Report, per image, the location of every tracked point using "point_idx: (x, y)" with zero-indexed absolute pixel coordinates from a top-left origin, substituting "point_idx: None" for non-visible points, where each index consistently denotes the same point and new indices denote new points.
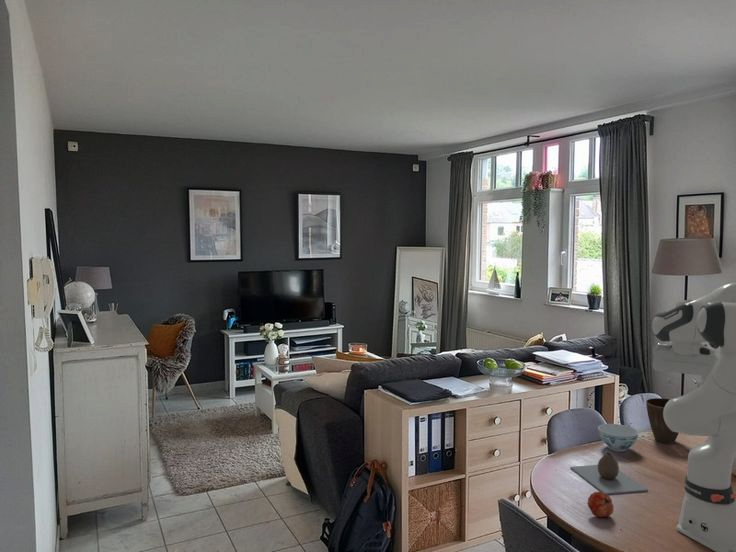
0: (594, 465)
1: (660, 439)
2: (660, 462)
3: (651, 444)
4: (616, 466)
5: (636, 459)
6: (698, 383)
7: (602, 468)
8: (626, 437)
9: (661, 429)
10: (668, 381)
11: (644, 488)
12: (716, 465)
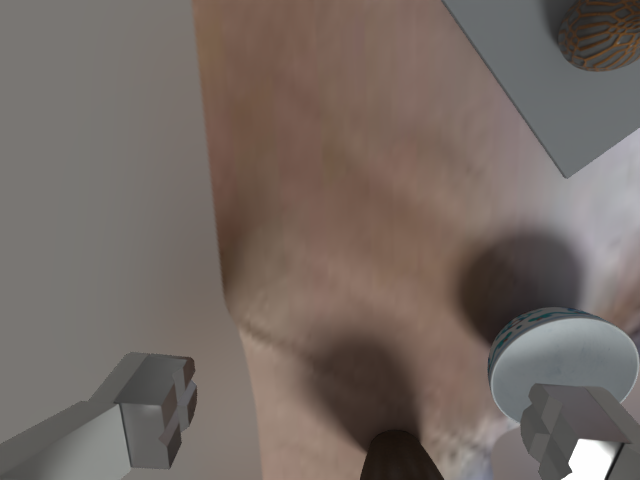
0: (625, 132)
1: (407, 436)
2: (403, 285)
3: (429, 407)
4: (591, 3)
5: (474, 274)
6: (144, 403)
7: None
8: (535, 324)
9: (412, 458)
10: (599, 413)
11: (454, 1)
12: None
